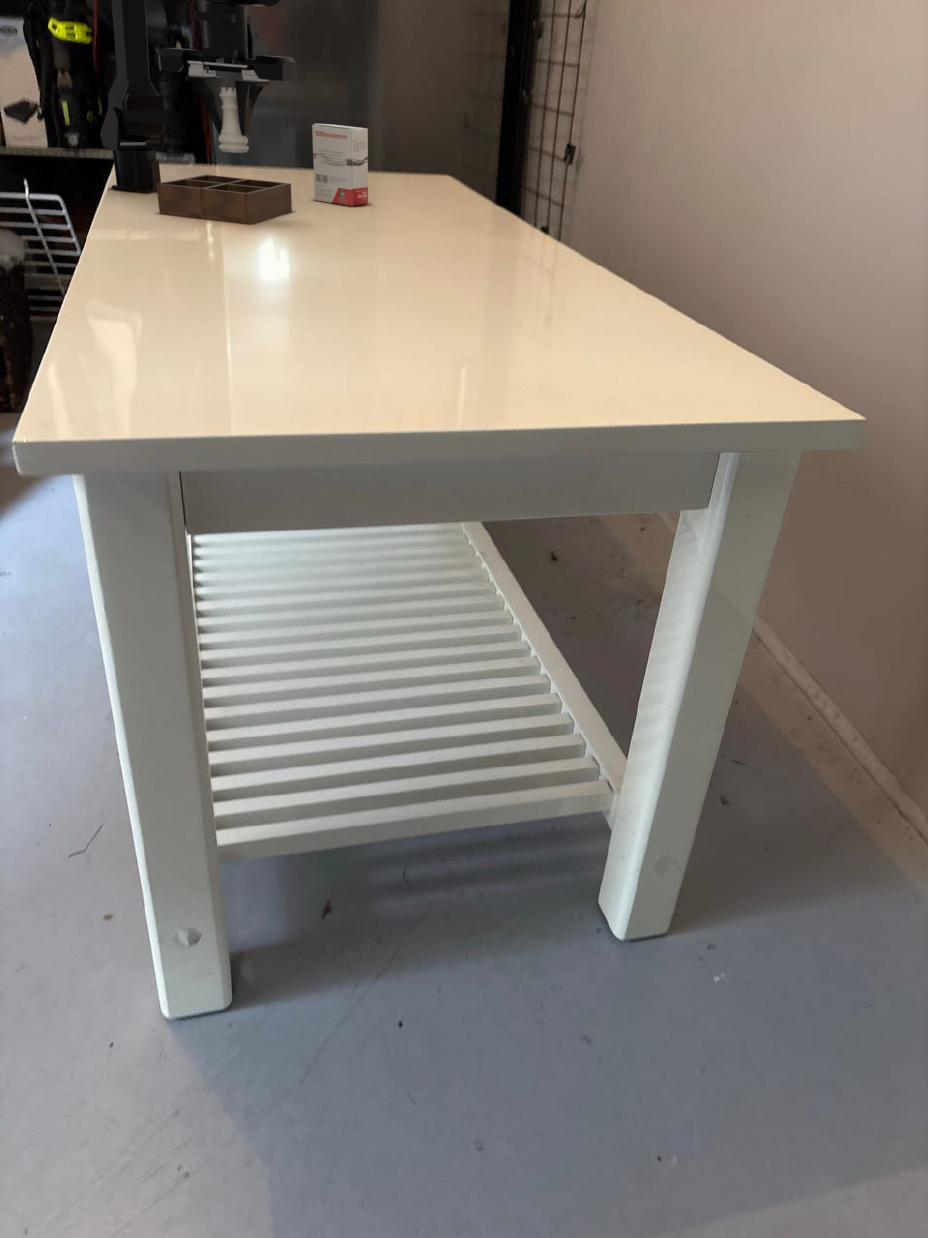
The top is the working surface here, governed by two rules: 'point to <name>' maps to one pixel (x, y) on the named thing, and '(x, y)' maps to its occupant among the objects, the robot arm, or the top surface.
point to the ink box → (340, 164)
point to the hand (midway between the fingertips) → (232, 134)
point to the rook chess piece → (231, 124)
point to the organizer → (224, 198)
